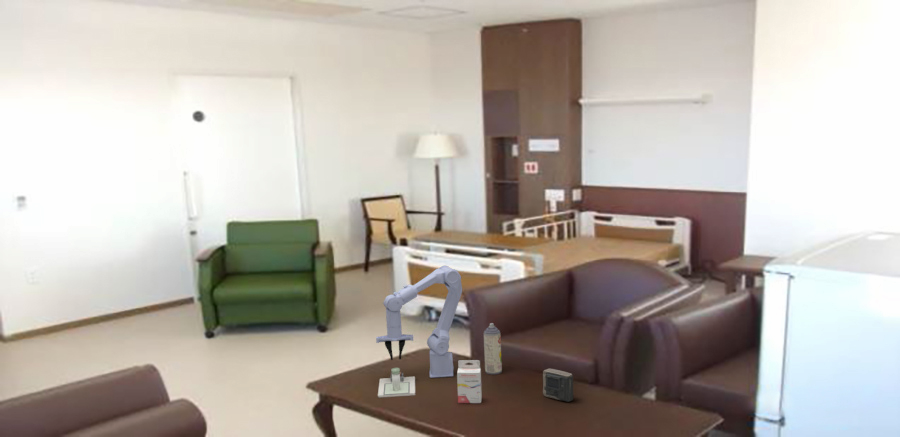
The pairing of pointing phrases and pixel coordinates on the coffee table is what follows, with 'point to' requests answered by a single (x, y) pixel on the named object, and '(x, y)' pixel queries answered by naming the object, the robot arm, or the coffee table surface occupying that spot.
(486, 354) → the aerosol can
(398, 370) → the marker
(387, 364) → the coffee table surface
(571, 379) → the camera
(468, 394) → the ink cartridge box
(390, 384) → the activity board
